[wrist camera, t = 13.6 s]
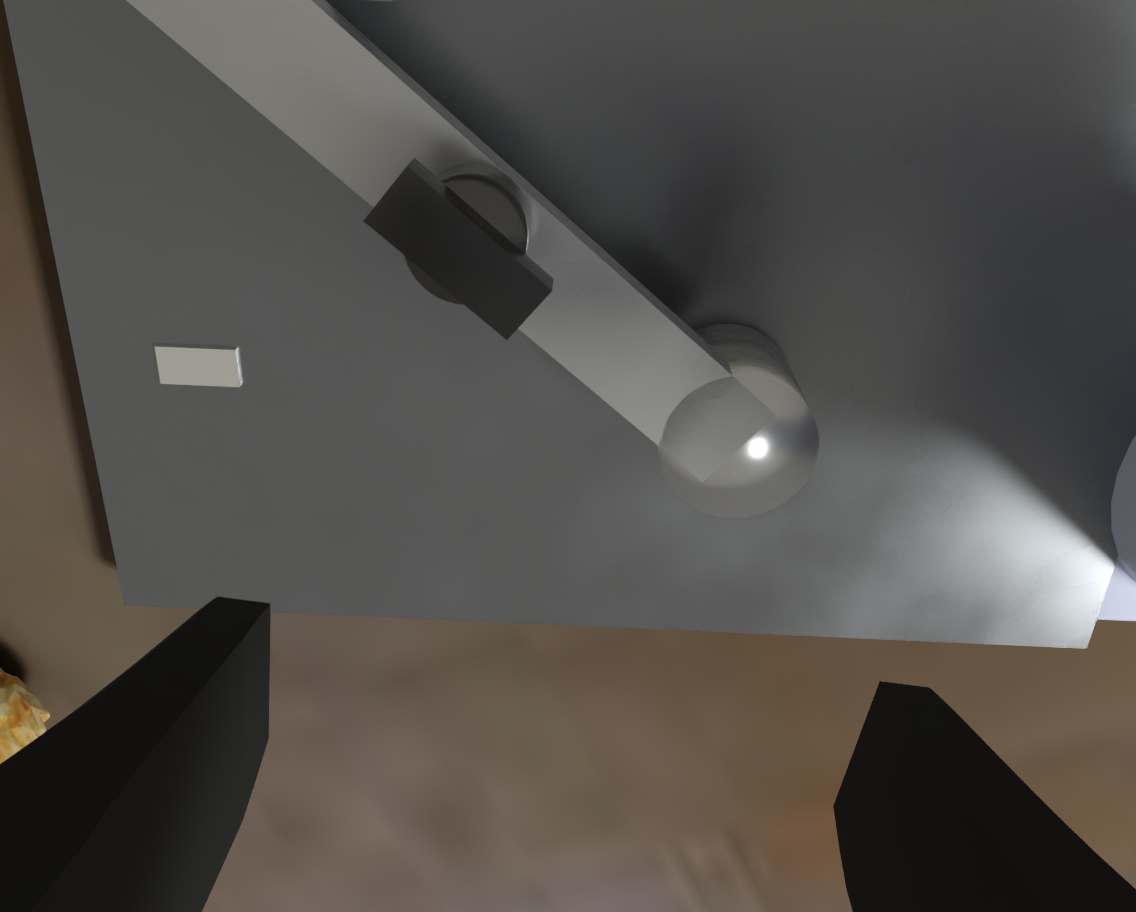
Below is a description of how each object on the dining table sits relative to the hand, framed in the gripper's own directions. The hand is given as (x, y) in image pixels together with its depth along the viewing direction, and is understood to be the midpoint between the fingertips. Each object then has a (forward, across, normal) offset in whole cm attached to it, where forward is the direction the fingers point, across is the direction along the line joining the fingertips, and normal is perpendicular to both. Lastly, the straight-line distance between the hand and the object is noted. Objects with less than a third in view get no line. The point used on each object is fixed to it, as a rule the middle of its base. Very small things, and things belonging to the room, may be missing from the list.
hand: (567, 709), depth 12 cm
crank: (+9, +2, -4) cm, 10 cm away
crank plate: (+10, -1, -3) cm, 11 cm away
